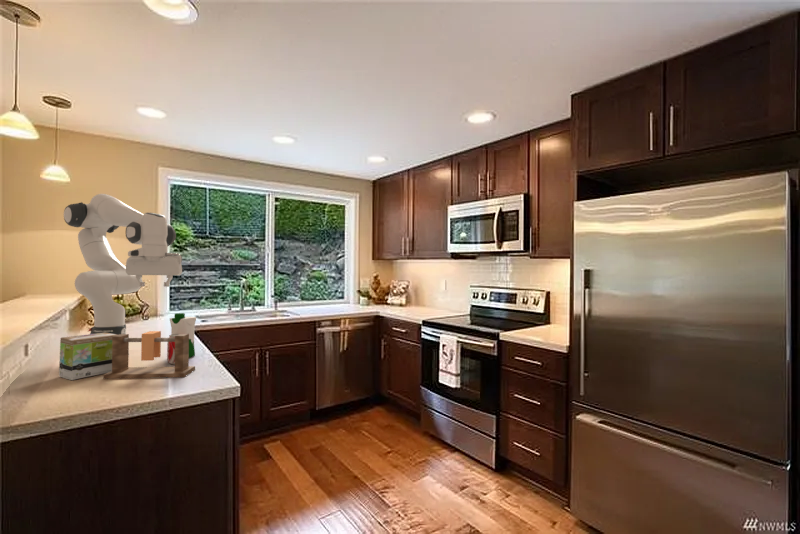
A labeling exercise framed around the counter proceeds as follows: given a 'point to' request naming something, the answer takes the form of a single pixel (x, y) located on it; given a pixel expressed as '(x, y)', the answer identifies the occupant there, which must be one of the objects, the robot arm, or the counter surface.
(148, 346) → the tall peach brick
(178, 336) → the hanger stand
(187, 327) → the milk carton
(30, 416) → the counter surface
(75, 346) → the tea box
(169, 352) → the soda can
